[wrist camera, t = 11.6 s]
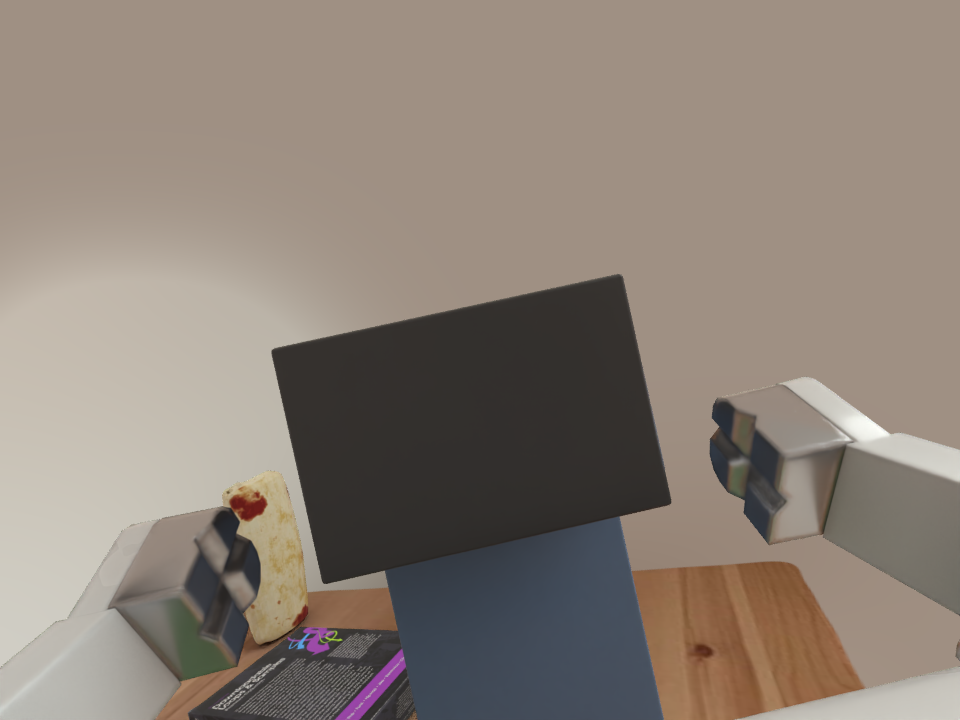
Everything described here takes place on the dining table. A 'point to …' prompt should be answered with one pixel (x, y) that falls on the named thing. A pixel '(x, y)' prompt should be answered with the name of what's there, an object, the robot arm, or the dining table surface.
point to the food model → (271, 554)
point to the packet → (471, 427)
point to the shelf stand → (527, 630)
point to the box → (319, 680)
